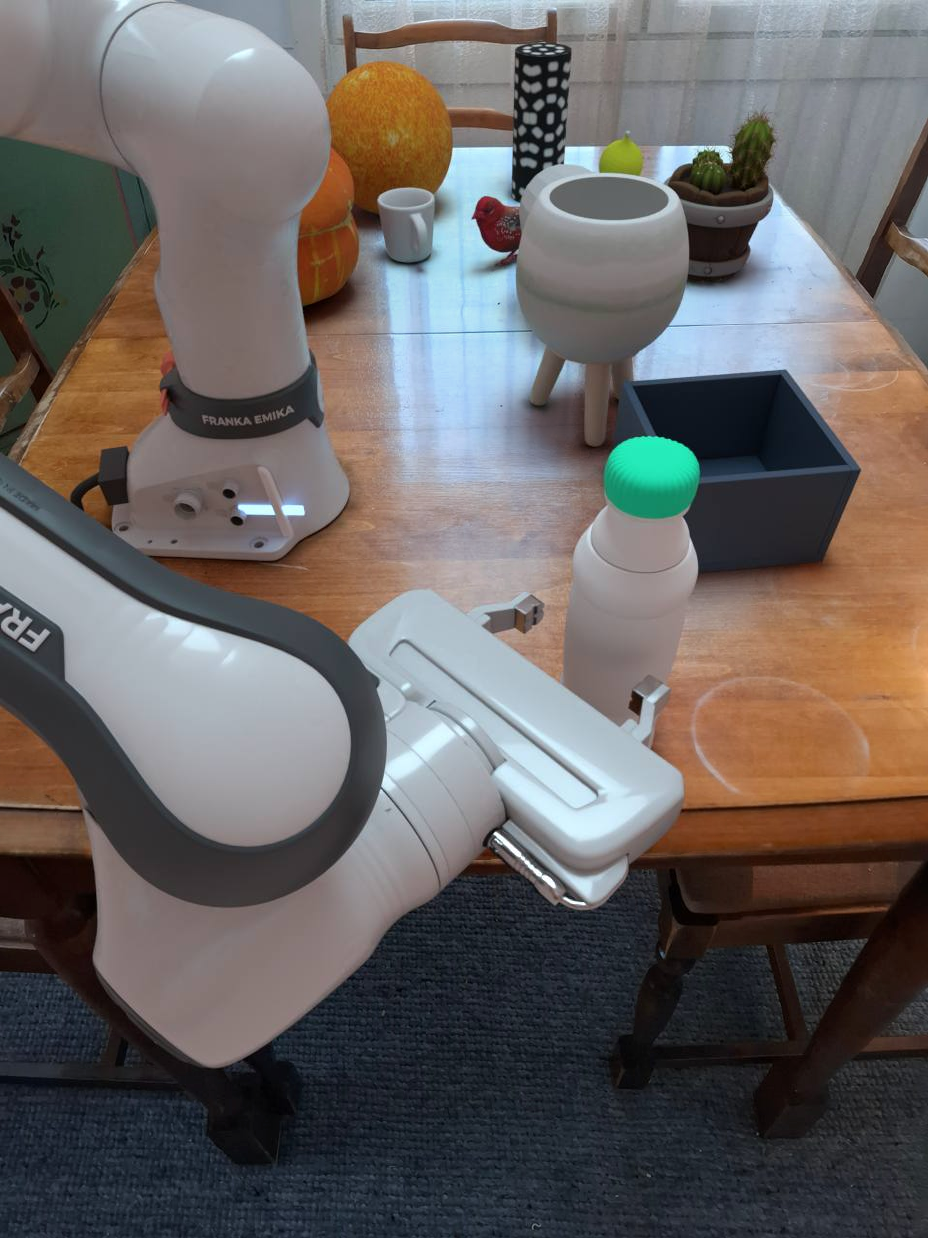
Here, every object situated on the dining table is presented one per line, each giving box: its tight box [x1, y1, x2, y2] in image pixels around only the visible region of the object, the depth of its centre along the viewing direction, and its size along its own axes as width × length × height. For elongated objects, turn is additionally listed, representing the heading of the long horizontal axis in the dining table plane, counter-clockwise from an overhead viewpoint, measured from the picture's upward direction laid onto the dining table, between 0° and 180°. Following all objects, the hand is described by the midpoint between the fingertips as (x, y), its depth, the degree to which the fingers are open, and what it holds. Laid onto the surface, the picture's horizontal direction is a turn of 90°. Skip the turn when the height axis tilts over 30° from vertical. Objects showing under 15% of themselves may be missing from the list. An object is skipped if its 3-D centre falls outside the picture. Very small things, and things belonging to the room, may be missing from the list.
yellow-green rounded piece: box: [598, 130, 644, 177], centre depth 130 cm, size 7×7×10 cm
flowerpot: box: [662, 103, 782, 284], centre depth 105 cm, size 14×15×20 cm
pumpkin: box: [297, 147, 360, 307], centre depth 101 cm, size 23×23×20 cm
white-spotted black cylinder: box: [511, 42, 573, 203], centre depth 124 cm, size 8×8×20 cm
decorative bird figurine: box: [470, 195, 522, 267], centre depth 111 cm, size 3×18×10 cm, turn 132°
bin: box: [611, 368, 862, 574], centre depth 72 cm, size 16×16×10 cm
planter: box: [515, 172, 689, 448], centre depth 79 cm, size 16×16×22 cm
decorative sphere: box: [325, 60, 454, 215], centre depth 121 cm, size 20×20×20 cm
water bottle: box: [558, 436, 700, 750], centre depth 49 cm, size 7×7×25 cm
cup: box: [377, 188, 436, 263], centre depth 112 cm, size 11×8×8 cm
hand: (594, 643), depth 47 cm, fingers open, 8 cm apart
